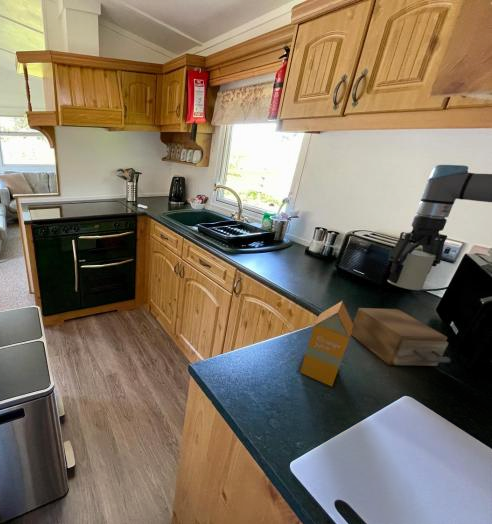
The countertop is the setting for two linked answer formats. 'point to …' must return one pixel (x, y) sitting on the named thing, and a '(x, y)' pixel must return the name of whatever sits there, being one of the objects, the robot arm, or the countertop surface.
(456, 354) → the countertop surface
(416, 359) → the drawer
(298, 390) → the countertop surface
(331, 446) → the countertop surface
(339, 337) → the orange juice
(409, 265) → the can
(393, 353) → the cabinet
